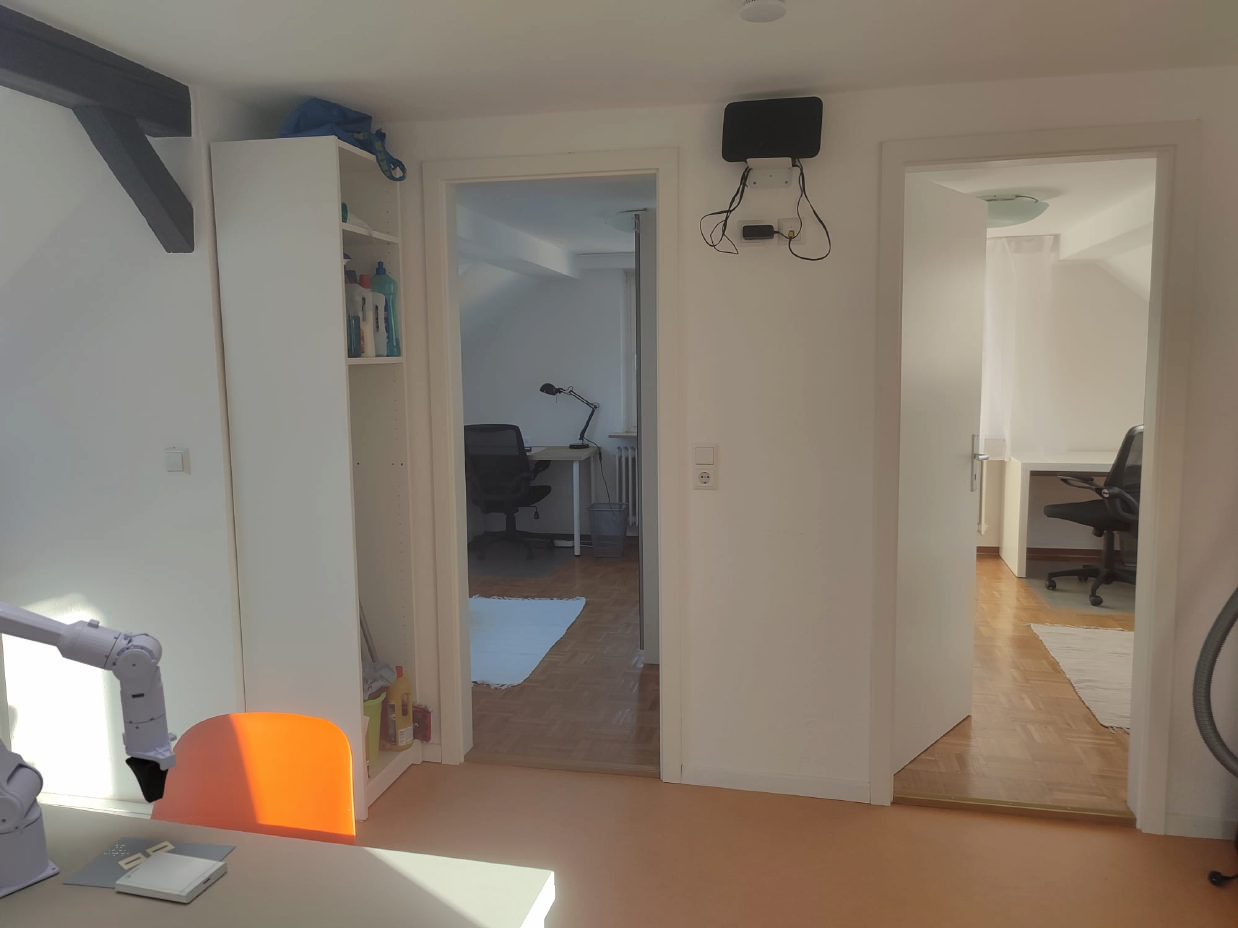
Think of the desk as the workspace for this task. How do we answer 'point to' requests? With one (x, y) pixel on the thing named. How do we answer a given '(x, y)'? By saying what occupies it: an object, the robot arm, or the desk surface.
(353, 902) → the desk surface
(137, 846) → the label mat
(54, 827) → the desk surface
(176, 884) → the hard drive
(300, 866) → the desk surface
